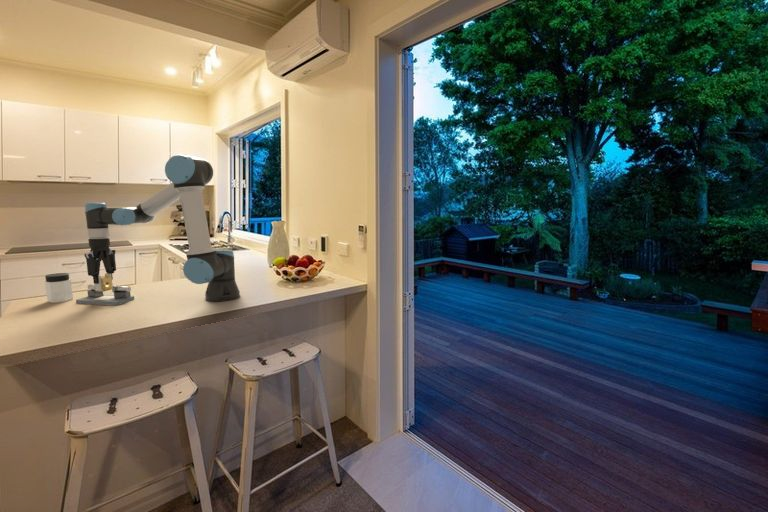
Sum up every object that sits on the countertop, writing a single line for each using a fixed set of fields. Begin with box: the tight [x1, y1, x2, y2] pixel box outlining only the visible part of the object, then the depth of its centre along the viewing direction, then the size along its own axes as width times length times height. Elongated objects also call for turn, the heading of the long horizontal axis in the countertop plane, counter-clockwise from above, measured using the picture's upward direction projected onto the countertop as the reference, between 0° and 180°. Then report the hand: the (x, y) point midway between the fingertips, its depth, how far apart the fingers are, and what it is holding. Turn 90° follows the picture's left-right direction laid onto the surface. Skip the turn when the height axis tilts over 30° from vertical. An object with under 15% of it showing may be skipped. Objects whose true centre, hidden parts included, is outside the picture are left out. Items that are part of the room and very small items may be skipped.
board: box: [75, 294, 135, 306], centre depth 169 cm, size 20×10×2 cm, turn 82°
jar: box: [44, 272, 74, 304], centre depth 169 cm, size 9×8×12 cm
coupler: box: [93, 275, 113, 293], centre depth 168 cm, size 5×5×6 cm
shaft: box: [87, 283, 104, 298], centre depth 172 cm, size 6×4×6 cm, turn 67°
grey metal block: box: [111, 285, 132, 299], centre depth 170 cm, size 6×4×6 cm, turn 97°
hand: (104, 288), depth 169 cm, fingers closed on coupler, 5 cm apart
